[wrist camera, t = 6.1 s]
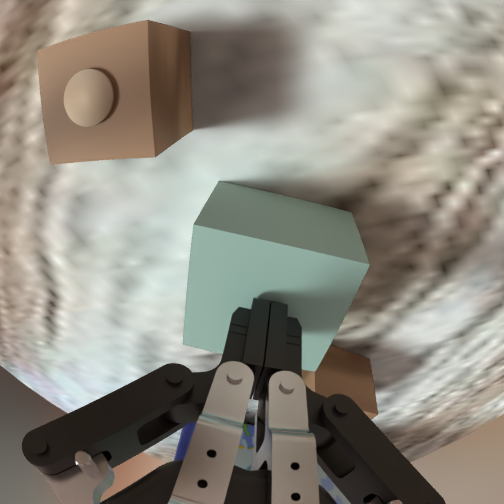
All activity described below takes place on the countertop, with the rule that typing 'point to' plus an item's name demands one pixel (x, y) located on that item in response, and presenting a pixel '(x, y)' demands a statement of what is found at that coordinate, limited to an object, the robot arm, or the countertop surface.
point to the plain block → (271, 266)
